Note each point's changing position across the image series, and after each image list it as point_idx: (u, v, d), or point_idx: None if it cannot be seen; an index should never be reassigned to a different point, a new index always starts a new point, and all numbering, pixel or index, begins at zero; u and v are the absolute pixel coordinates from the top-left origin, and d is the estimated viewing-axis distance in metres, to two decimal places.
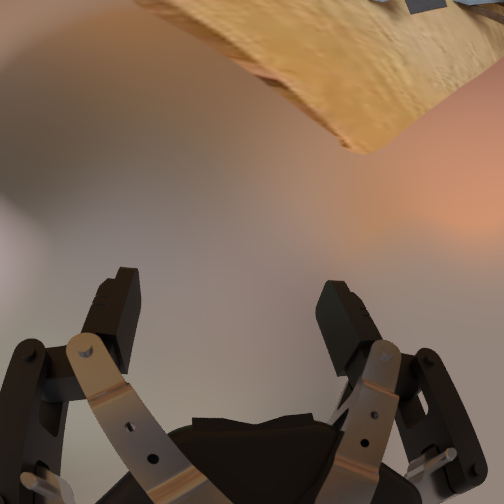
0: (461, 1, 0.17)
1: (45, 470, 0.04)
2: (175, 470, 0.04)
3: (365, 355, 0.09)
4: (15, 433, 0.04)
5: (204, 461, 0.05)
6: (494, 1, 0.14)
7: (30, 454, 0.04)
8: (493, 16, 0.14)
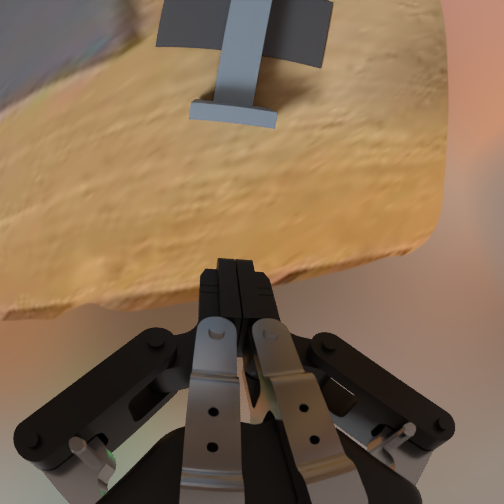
0: None
1: (102, 445, 0.05)
2: (223, 466, 0.05)
3: (250, 333, 0.09)
4: (94, 403, 0.06)
5: None
6: None
7: (97, 426, 0.05)
8: None
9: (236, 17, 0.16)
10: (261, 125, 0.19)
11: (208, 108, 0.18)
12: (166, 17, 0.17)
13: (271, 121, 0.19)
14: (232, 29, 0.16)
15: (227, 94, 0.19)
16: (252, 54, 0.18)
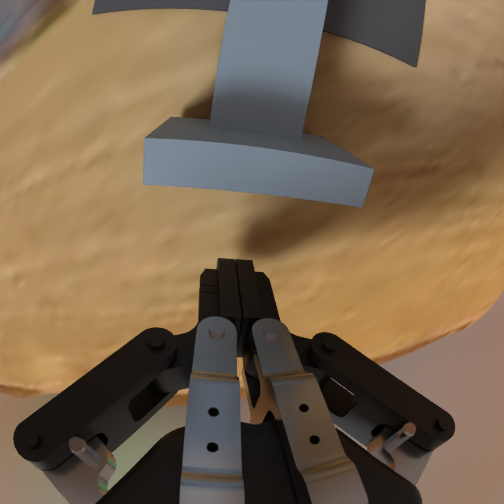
0: None
1: (102, 445, 0.05)
2: (223, 466, 0.05)
3: (250, 333, 0.09)
4: (95, 403, 0.06)
5: None
6: None
7: (97, 426, 0.05)
8: None
9: None
10: (333, 200, 0.08)
11: (194, 154, 0.07)
12: None
13: (357, 190, 0.08)
14: None
15: (243, 108, 0.08)
16: (303, 17, 0.07)
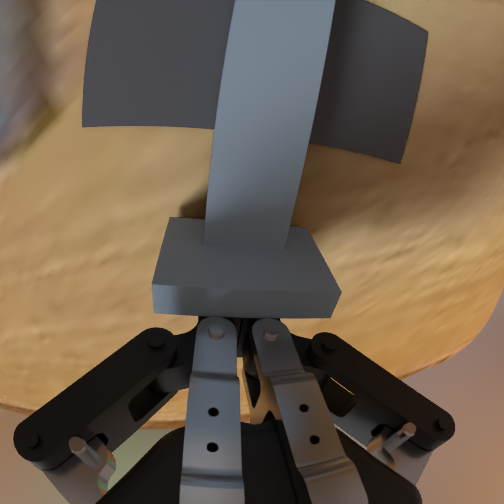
0: None
1: (102, 445, 0.05)
2: (223, 466, 0.05)
3: (250, 333, 0.09)
4: (94, 403, 0.06)
5: None
6: None
7: (97, 426, 0.05)
8: None
9: (251, 36, 0.07)
10: (305, 316, 0.10)
11: (193, 296, 0.09)
12: (97, 60, 0.08)
13: (326, 307, 0.10)
14: (240, 70, 0.07)
15: (232, 228, 0.10)
16: (289, 135, 0.09)
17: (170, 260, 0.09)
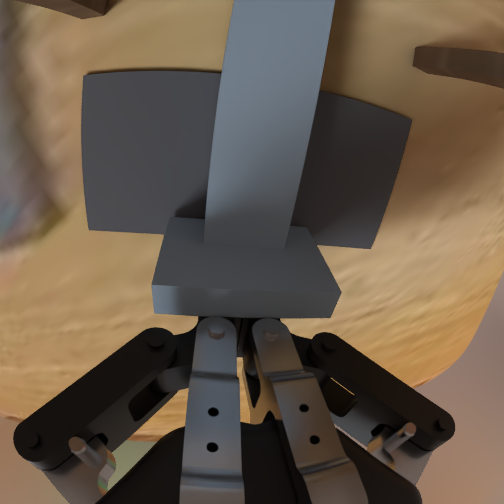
0: None
1: (102, 445, 0.05)
2: (223, 466, 0.05)
3: (250, 333, 0.09)
4: (95, 403, 0.06)
5: None
6: None
7: (97, 426, 0.05)
8: None
9: (250, 35, 0.07)
10: (305, 316, 0.10)
11: (193, 296, 0.09)
12: (93, 172, 0.10)
13: (326, 307, 0.10)
14: (239, 69, 0.07)
15: (232, 228, 0.10)
16: (289, 135, 0.09)
17: (170, 260, 0.09)
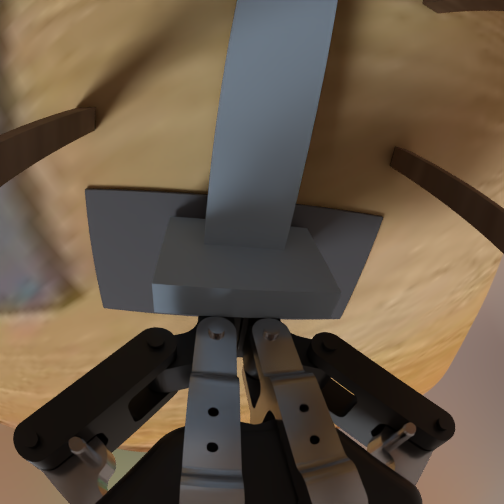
0: None
1: (102, 445, 0.05)
2: (223, 466, 0.05)
3: (250, 333, 0.09)
4: (94, 403, 0.06)
5: None
6: None
7: (97, 426, 0.05)
8: None
9: (253, 36, 0.07)
10: (305, 316, 0.10)
11: (193, 295, 0.09)
12: (104, 269, 0.13)
13: (326, 308, 0.10)
14: (242, 69, 0.07)
15: (233, 228, 0.10)
16: (290, 135, 0.09)
17: (170, 259, 0.09)
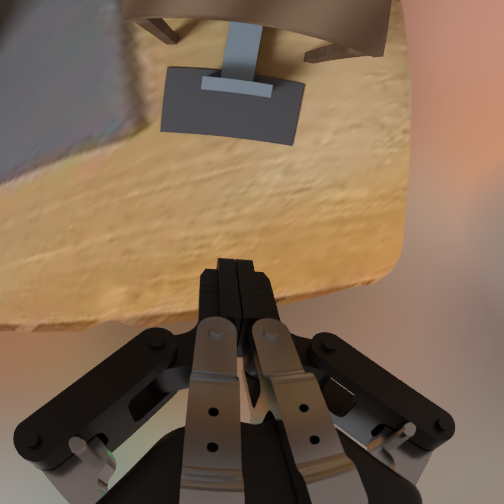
0: None
1: (102, 445, 0.05)
2: (223, 466, 0.05)
3: (250, 333, 0.09)
4: (94, 403, 0.06)
5: None
6: None
7: (97, 426, 0.05)
8: (334, 56, 0.18)
9: None
10: (259, 95, 0.22)
11: (216, 81, 0.21)
12: (167, 106, 0.26)
13: (267, 92, 0.22)
14: None
15: (232, 72, 0.23)
16: (252, 40, 0.21)
17: None
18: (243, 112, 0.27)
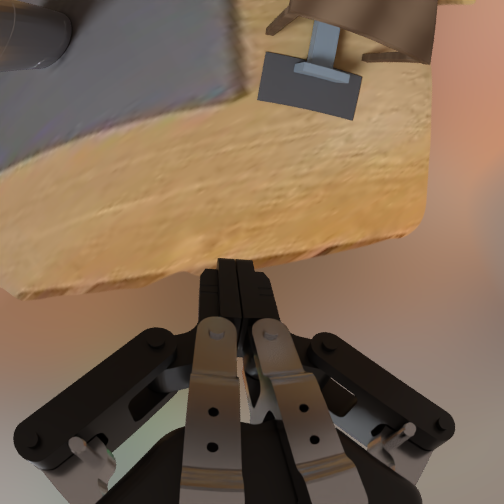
0: None
1: (102, 445, 0.05)
2: (223, 466, 0.05)
3: (250, 333, 0.09)
4: (95, 403, 0.06)
5: None
6: None
7: (97, 426, 0.05)
8: (392, 60, 0.25)
9: None
10: (341, 80, 0.29)
11: (314, 67, 0.28)
12: (264, 81, 0.33)
13: (346, 79, 0.29)
14: (321, 26, 0.27)
15: (318, 62, 0.30)
16: (332, 42, 0.28)
17: None
18: (320, 92, 0.34)
